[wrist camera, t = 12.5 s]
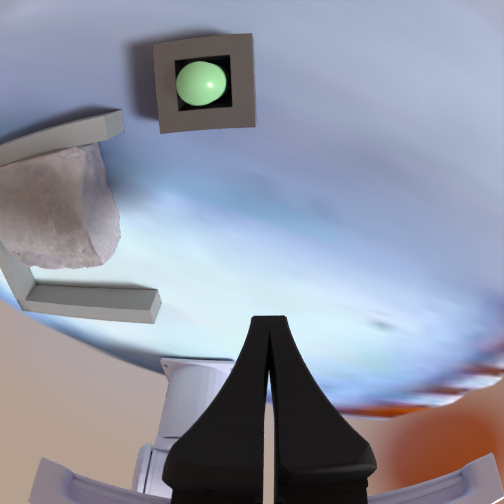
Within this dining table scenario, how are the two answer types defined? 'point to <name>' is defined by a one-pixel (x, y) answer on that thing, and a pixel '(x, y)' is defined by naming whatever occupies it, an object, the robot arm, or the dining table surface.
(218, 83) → the button
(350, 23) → the dining table surface
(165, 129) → the button box
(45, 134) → the corral
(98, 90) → the dining table surface
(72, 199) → the stone block
